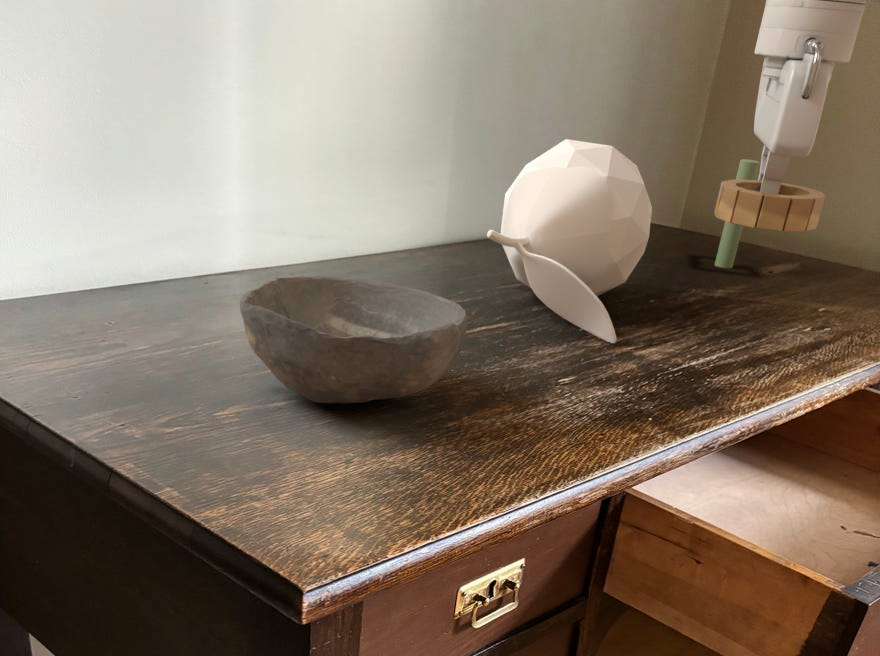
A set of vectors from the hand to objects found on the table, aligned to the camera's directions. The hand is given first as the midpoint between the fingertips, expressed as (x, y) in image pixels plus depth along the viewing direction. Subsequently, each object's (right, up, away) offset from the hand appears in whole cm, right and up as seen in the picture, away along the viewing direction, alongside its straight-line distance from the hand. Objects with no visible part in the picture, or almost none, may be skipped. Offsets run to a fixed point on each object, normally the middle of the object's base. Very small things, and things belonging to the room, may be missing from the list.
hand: (765, 195), depth 99 cm
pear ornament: (-20, -9, +10) cm, 24 cm away
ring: (-1, -4, -2) cm, 5 cm away
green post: (+6, +4, +32) cm, 33 cm away
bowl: (-42, -26, -19) cm, 53 cm away
